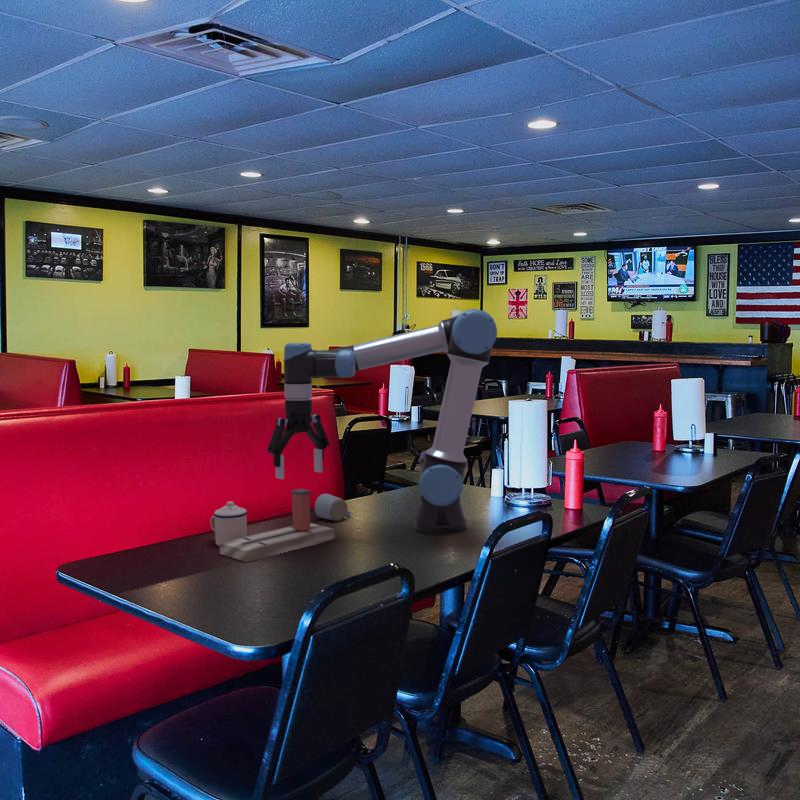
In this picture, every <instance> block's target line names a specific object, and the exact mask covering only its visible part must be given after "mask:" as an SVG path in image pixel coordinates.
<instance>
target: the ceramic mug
mask: <svg viewBox="0 0 800 800" xmlns="http://www.w3.org/2000/svg"><path fill="white" fill-rule="evenodd" d="M314 511H315V514H316V516H317V517H318V518H320V519H324V520H327V521H328V520H329V521H333V522H341V520H343V519H344V518H345V517H348V518H350V517H351V514H352V512H351V511H349V510H348V504H347V502H346V501H345V500H344V499H342V498H341V497H337V496H334V495H332V494H329V493H322V494H320V495H319V496H318V497H317V498H316V499H315V503H314Z"/></svg>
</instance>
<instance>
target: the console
mask: <svg viewBox="0 0 800 800" xmlns="http://www.w3.org/2000/svg"><path fill="white" fill-rule="evenodd" d="M335 530H336V529H335V528H332V527H328V526H323V525H320V524H316V523H312V522H310V529H308V530H304V531H300V530H296V529H293V525H289V526H286V527H285V526H284V527H281V528H277V529H273V530H269V531H268V530H267V531H264V532H260V533H259V532H258V533H255V534H251V535H247V536H246V537H242V538H238V539H234V540H229V541H225V542H221V543H219V544H220V546H219V555H222V556H226V557H228V558H231V557H232V558H231V559H234V558H235V560H237V559H238V561H240V560H241V562H243V561H244V563H246V562H247V563H250V562H253V561H257V560H262V559H266V558H268V557H269V556H270V557H273V556H277V555H281V554H284V552H285V553H288V551H289V552H292V550H293V551H296V550H301V549H304V548H308V547H311V546H315V545H319V544H322V543H327V542H330V541H335V540H336V531H335ZM280 553H281V554H280ZM249 561H250V562H249Z"/></svg>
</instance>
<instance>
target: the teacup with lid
mask: <svg viewBox="0 0 800 800" xmlns="http://www.w3.org/2000/svg"><path fill="white" fill-rule="evenodd" d="M213 513H214V514H213V515H212V517H211V518H210V520H209V524H210V527H211V529H212V531H213V532H214V534H215V535H214V536H215V537H214V538H215V545H216V546H218V547H220V544H219V543H221V542H225V541H229V540H234V539H238V538H242V537H246V536H248V527H247V526H248V523H247V522H248V521H247V514H248V511H247V509H246V508H244V507H240V506H238V505H236V504H235V503H234V501H227V502H226V504H225V505H224V506H222V507H221V508H219V509H216V510H215V511H214V512H213Z"/></svg>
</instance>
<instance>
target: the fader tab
mask: <svg viewBox="0 0 800 800" xmlns="http://www.w3.org/2000/svg"><path fill="white" fill-rule="evenodd" d="M290 494H291V500H292V501H291V503H292V505H291V506H292V507H291V508H292V510H291V511H292V526H293V529H296V530H300V531H304V530H308V529H310V523H311V503H310V502H311V501H310V500H311V497H310V496H311V490H309V489H303V488H298V489H293V490H290Z"/></svg>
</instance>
